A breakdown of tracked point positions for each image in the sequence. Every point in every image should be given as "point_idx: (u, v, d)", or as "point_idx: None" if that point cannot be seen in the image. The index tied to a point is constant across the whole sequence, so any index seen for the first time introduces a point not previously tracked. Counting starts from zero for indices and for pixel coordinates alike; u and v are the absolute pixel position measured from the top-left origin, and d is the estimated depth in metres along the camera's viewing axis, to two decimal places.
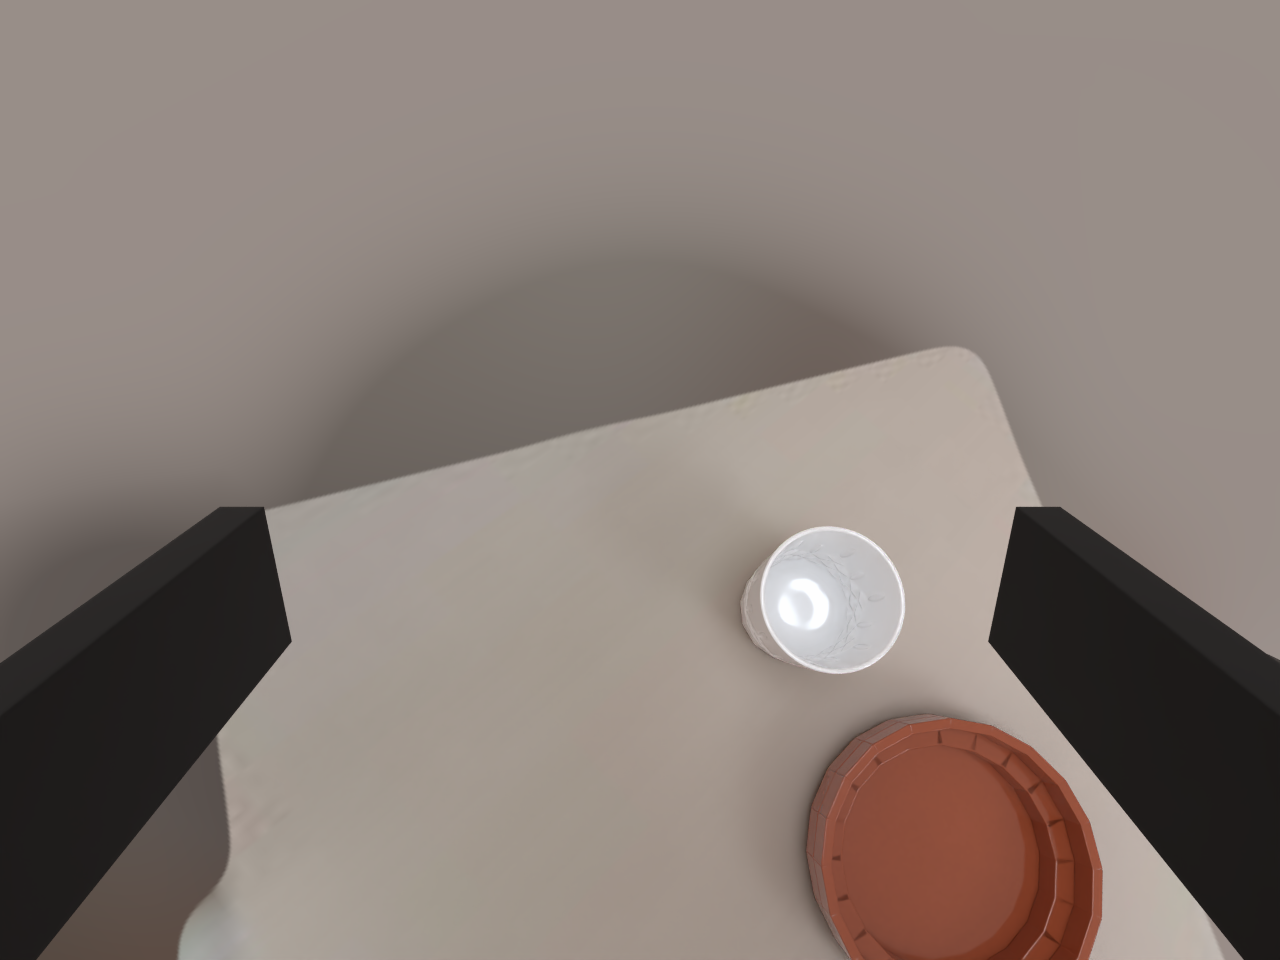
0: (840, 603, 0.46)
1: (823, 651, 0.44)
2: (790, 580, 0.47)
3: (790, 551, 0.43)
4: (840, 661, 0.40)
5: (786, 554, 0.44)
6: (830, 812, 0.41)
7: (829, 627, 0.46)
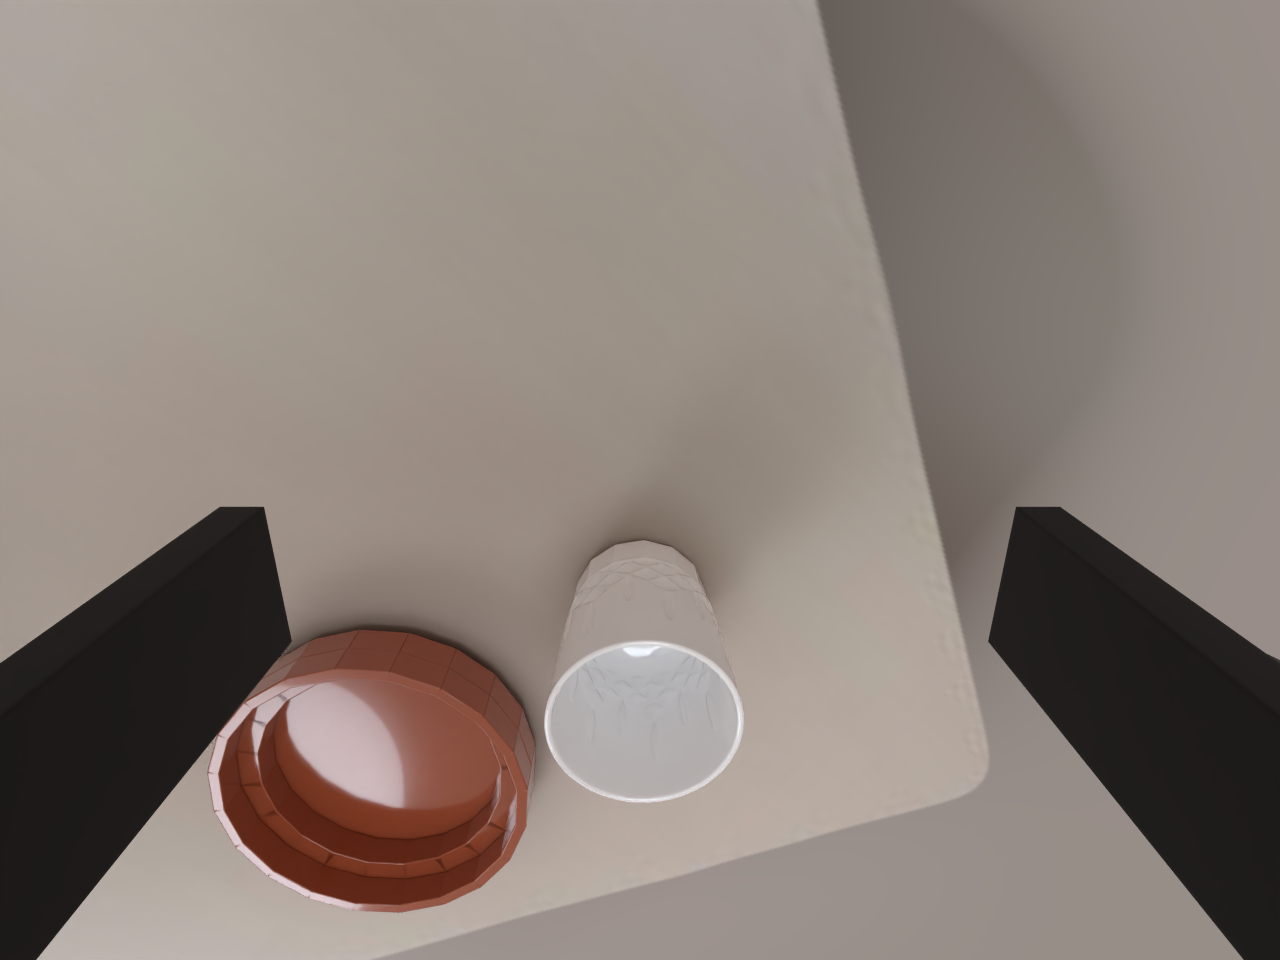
0: (650, 666, 0.36)
1: None
2: None
3: None
4: (568, 708, 0.31)
5: None
6: (396, 676, 0.34)
7: (619, 654, 0.36)
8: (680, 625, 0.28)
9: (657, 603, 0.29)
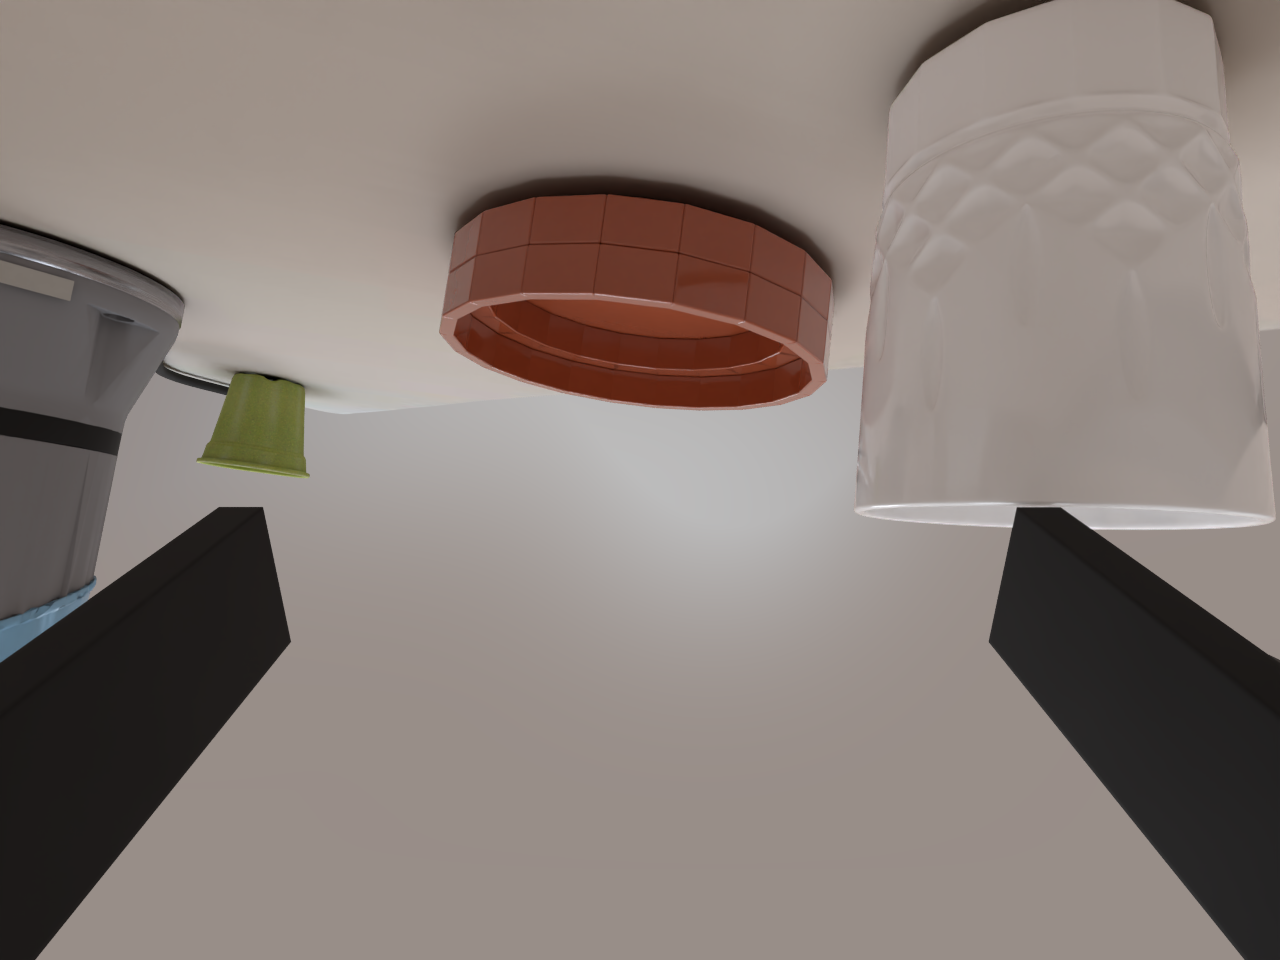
0: None
1: None
2: None
3: None
4: None
5: None
6: (605, 296, 0.23)
7: None
8: (1162, 415, 0.12)
9: (1104, 337, 0.12)
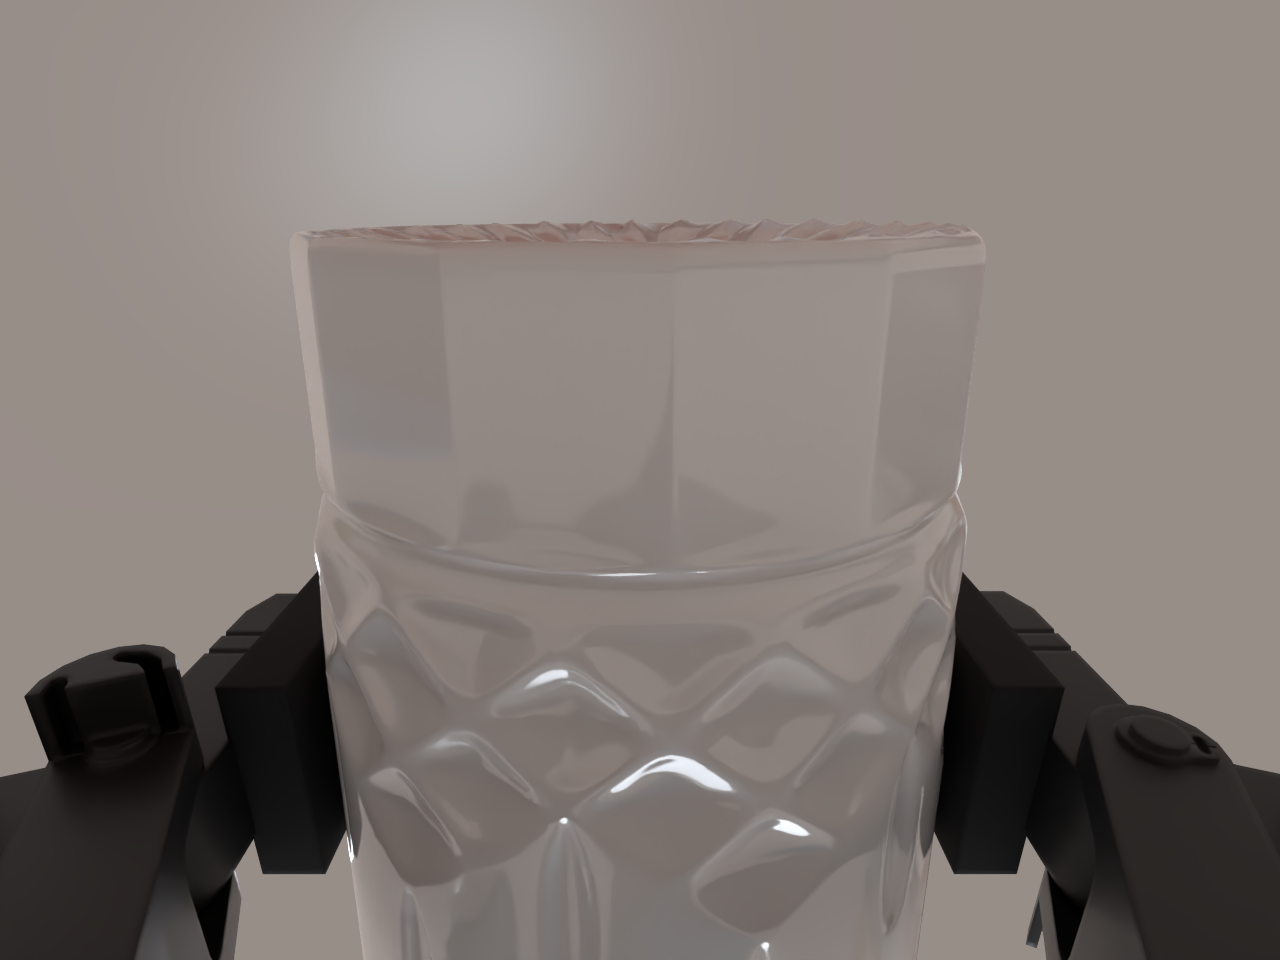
0: None
1: None
2: None
3: None
4: None
5: None
6: None
7: None
8: None
9: None
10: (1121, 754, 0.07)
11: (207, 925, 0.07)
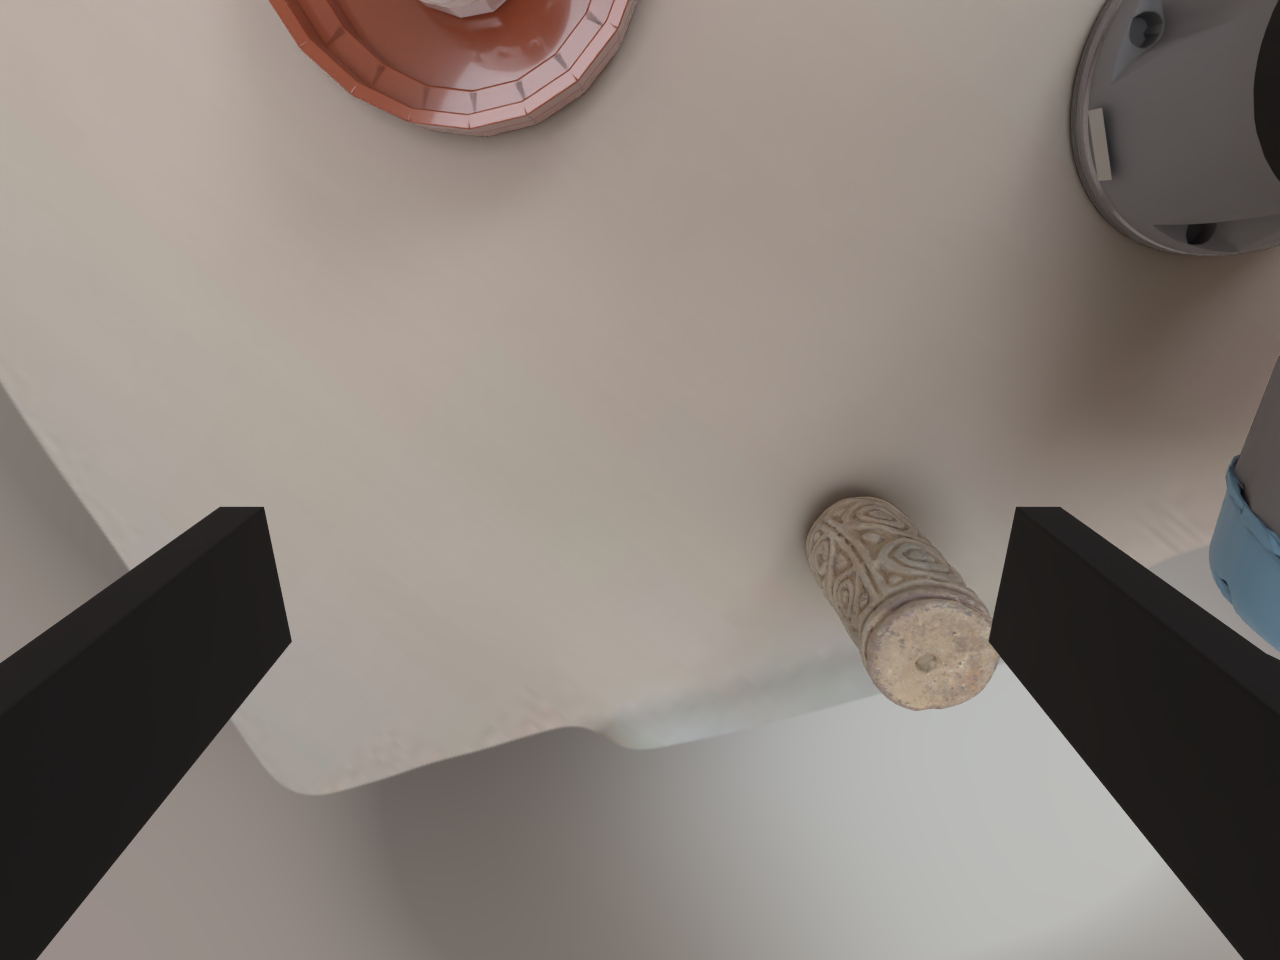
0: None
1: None
2: None
3: None
4: None
5: None
6: (401, 115, 0.30)
7: None
8: None
9: None
10: None
11: None
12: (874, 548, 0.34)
